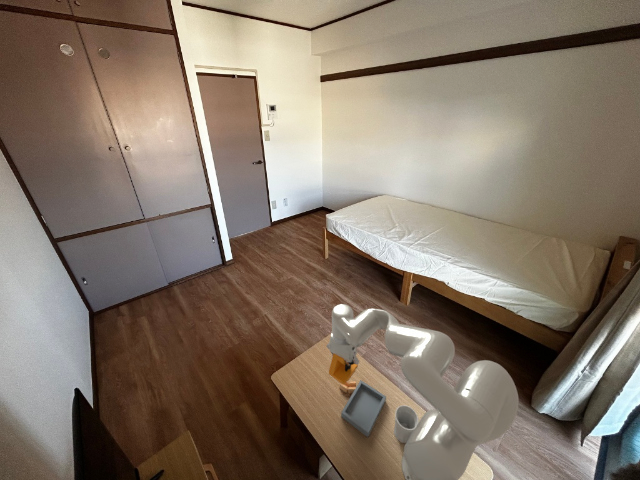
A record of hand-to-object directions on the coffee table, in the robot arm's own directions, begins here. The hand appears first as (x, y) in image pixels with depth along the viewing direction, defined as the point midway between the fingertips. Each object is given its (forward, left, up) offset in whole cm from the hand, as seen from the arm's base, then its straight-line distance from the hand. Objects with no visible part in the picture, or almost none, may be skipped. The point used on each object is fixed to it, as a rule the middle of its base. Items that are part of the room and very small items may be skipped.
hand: (342, 364), depth 99 cm
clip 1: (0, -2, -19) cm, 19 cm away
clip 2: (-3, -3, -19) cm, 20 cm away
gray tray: (-11, +1, -19) cm, 22 cm away
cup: (-27, 0, -19) cm, 33 cm away
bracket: (-1, 0, -3) cm, 3 cm away
